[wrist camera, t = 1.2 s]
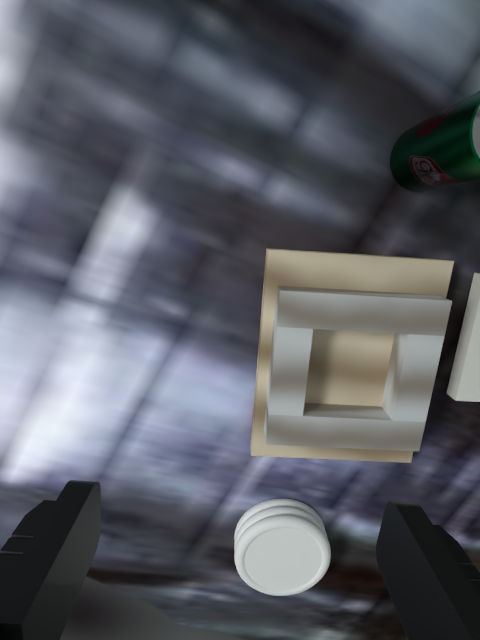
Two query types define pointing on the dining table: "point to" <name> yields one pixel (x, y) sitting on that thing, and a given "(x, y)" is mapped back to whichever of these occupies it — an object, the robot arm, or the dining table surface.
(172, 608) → the dining table surface
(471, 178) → the soda can
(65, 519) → the robot arm
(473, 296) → the tile
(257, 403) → the socket board
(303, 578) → the white ribbed disc
